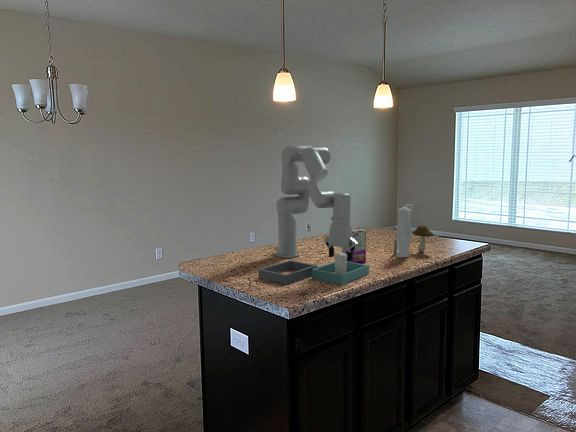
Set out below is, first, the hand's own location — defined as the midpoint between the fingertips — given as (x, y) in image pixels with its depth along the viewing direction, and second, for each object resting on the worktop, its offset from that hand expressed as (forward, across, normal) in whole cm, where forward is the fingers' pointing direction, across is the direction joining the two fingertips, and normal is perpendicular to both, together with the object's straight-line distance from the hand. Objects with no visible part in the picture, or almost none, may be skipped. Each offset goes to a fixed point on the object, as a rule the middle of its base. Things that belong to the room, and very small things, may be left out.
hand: (340, 258), depth 204 cm
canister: (+8, 0, 0) cm, 8 cm away
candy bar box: (+8, -8, +25) cm, 27 cm away
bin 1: (+8, -18, -15) cm, 25 cm away
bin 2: (+8, 0, 0) cm, 8 cm away
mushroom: (+8, +8, +68) cm, 69 cm away
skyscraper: (+9, +4, +53) cm, 54 cm away
